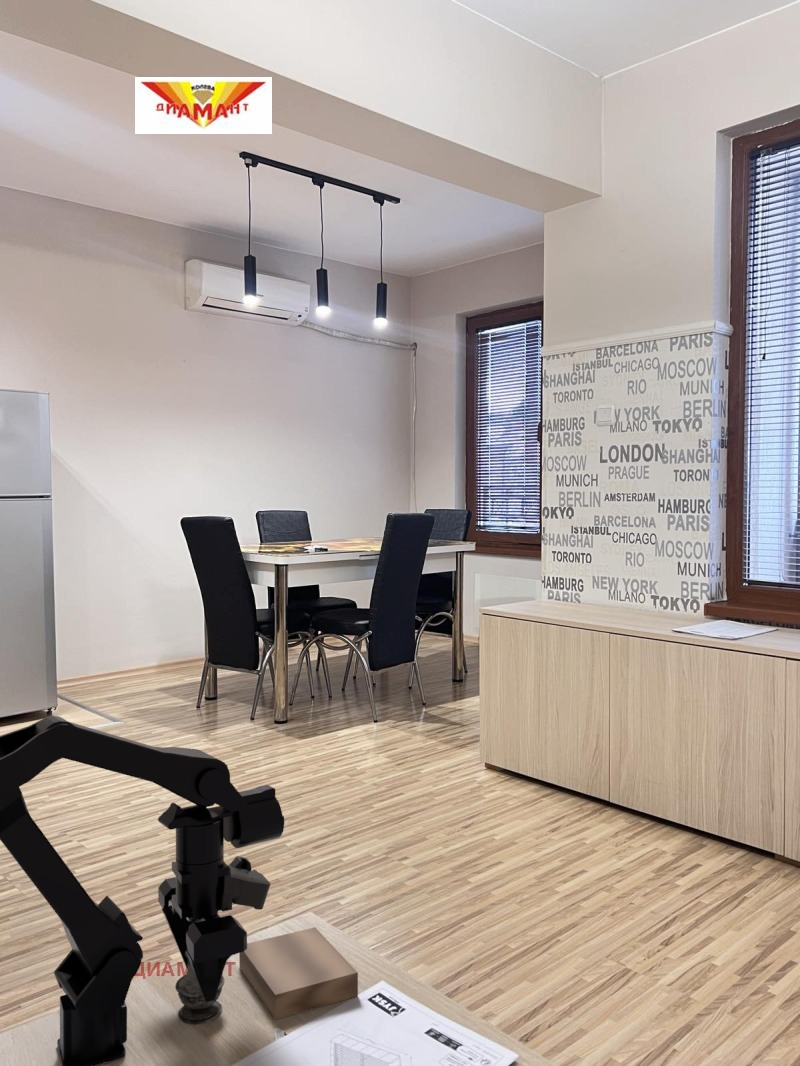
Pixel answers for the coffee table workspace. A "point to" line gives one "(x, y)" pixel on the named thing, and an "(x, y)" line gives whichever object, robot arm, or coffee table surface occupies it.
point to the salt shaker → (196, 999)
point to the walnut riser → (298, 972)
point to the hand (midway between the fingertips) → (200, 983)
